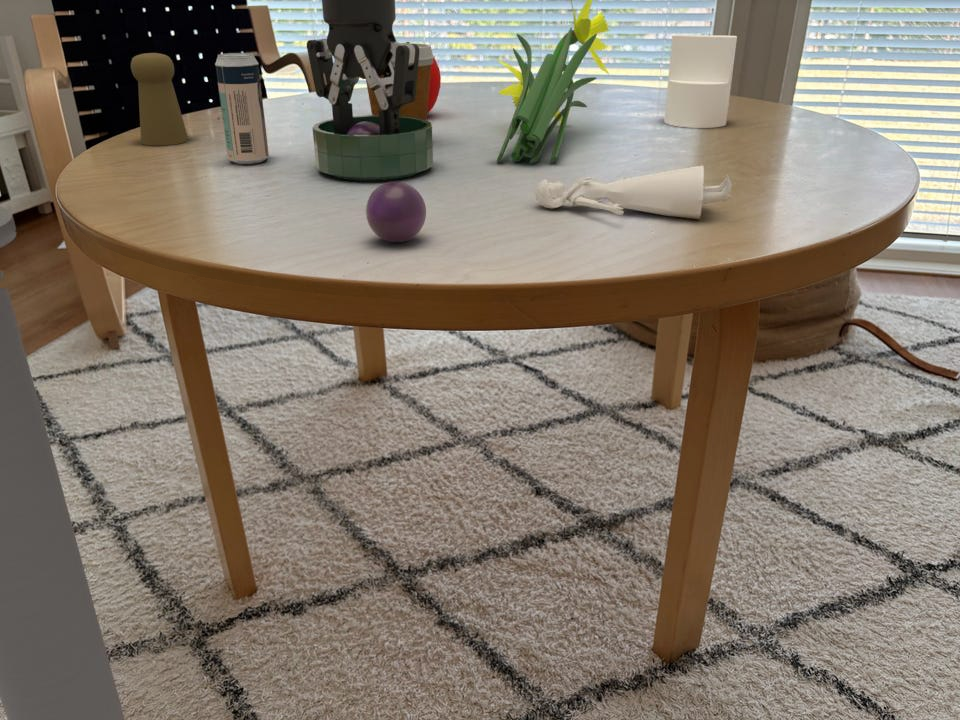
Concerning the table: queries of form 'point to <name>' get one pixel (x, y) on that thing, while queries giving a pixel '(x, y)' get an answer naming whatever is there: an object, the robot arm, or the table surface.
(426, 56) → the disposable coffee cup
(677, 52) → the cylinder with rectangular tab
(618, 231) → the table surface
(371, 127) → the ball left
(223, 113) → the beer can
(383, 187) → the ball front
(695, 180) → the woman figurine
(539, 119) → the daffodil flowers
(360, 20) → the robot arm
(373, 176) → the bowl
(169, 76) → the olive pawn
